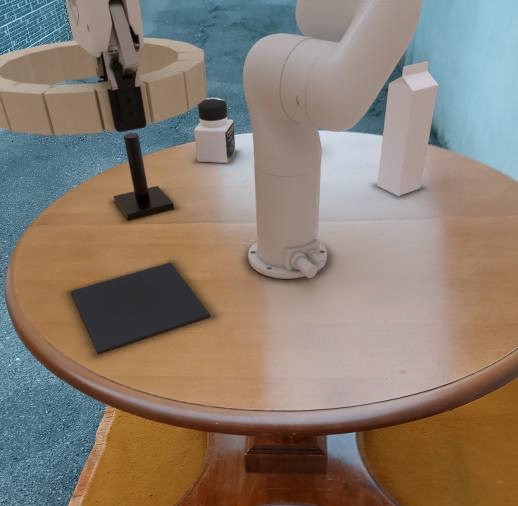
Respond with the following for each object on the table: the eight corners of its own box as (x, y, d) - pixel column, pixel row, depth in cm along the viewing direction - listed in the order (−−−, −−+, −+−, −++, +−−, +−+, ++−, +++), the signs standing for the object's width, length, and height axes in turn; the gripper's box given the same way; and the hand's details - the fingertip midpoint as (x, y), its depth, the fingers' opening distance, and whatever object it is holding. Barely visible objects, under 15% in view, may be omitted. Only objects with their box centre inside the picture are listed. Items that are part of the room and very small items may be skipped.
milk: (420, 188, 104) (443, 64, 90) (397, 196, 102) (417, 70, 88) (398, 178, 108) (416, 57, 94) (375, 185, 106) (391, 63, 91)
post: (174, 208, 101) (163, 138, 93) (128, 220, 98) (113, 148, 90) (158, 191, 107) (147, 123, 99) (114, 201, 104) (99, 132, 96)
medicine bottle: (228, 163, 117) (224, 106, 109) (196, 162, 118) (190, 105, 111) (235, 151, 122) (232, 95, 115) (205, 150, 124) (200, 95, 116)
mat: (210, 316, 75) (210, 314, 75) (98, 354, 70) (97, 351, 69) (170, 264, 86) (170, 262, 86) (71, 293, 81) (70, 291, 80)
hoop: (242, 107, 60) (240, 68, 57) (-4, 152, 51) (-19, 108, 48) (165, 61, 77) (161, 29, 75) (-26, 88, 69) (-38, 54, 66)
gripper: (22, -101, 49) (73, 109, 61) (56, -104, 38) (111, 156, 49) (103, -104, 51) (137, 99, 63) (158, -108, 40) (187, 140, 52)
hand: (125, 122), depth 56 cm, fingers closed on hoop, 3 cm apart
